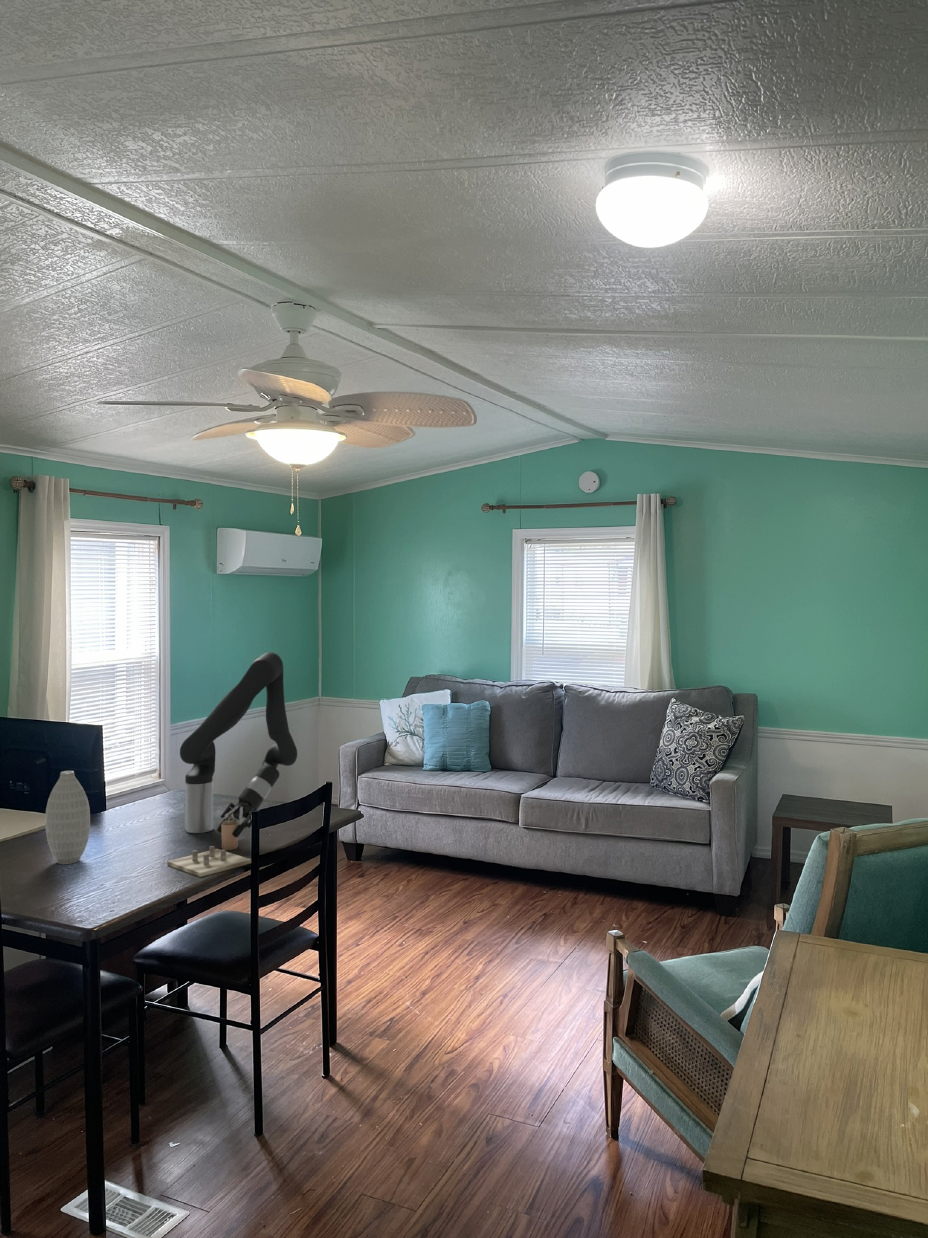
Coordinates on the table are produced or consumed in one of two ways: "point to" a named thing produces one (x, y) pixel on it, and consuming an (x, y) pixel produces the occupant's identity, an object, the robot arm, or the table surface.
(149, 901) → the table surface
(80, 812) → the vase
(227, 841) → the canister
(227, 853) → the peg plate
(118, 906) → the table surface
